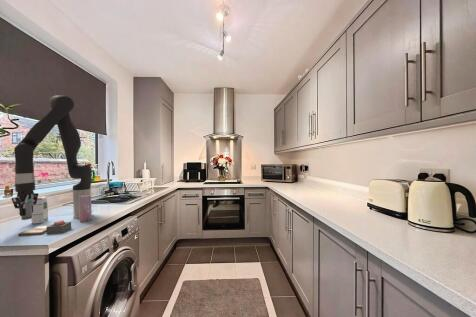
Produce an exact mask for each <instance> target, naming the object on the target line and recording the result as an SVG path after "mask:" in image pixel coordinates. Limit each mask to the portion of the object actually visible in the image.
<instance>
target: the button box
mask: <svg viewBox="0 0 476 317" xmlns="http://www.w3.org/2000/svg"><path fill="white" fill-rule="evenodd" d="M46 226H47V232H46V235H49V234H50V235H51V234H63V233H65V232H67V231H70V230H71V229H72V221H64V224H63V225H57V226H54V223H52V224H50V225H46Z"/></svg>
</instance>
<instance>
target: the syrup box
mask: <svg viewBox="0 0 476 317" xmlns="http://www.w3.org/2000/svg"><path fill="white" fill-rule="evenodd" d="M33 202H34V201H33ZM48 208H49V207H48V196H38V199H37V203H36V204H34V206H33V213H32V218H31V224H41V223H45V222H46V221H48V220H49V214H48V213H49V211H48Z"/></svg>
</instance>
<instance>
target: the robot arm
mask: <svg viewBox="0 0 476 317" xmlns="http://www.w3.org/2000/svg"><path fill="white" fill-rule="evenodd" d="M49 106H50V111H48V113H47V114H46V115H44V116H43V117H42V118H41V119H40V120H38V121H37V122H36V123H35V124H33V126H32V127H31V128H30V129H29V130H28V131H27V133H26V134H25V136H24V137H23V138H22V139H21V141H20V142H19V143H18V144H17V145H15V147H14V150H13V152H14V160H15V164H14V174H15V175H14V190H15V192H16V193H17V194H16V196H14V197H11V202H12V204H13V207H14V209H17V210H19V216H20V217H21V216H25V215H26V208H25V206H26V204H27V200H28V199H32V202H31V205H32V213H33V206H34V204H36V203H37V199H38V197H39V193H38V192H34V191H35V190H36V177H35V169H34V168H35V167H34V151H35V149H36V148H38V146H39V145H40V143H42V142H43V141H44V140H45V138H46V137H47V135H49V133H50V132H51V131H52V129H54V127H55V126H57V129H58V132H59V136H60V137H59V138H60V140H61V145H62V147H63V151H64V154H65V157H66V158H65V159H66V164H67V170H68V174H69V176H70V178H71V179H75V180H77V179H78V180H79V179H80V182H78V183H77V184H73V185H72V208H73V210H72V212H73V215H72V216H73V218H74V219H79V196H80V195H91V194H92V193H91V186H92V175H93V174H92V173H93V172H92V171H93V170H92V166H91V165H90V164H88V163H82V164H81V163H80V164H79V163H78V158H77V157H78V153H79V151H80V148H81V145H82V140H81V137H80V134H79V131H78V128H77V127H76V126H75V124H74V122H73V121H72V119H71V115H70V112H71V111H72V110H73V109H74V108H75V102H74V100H73V99H72V98H71V97H70V96H67V95H53V96H52V97H50V100H49ZM91 196H92V195H91ZM33 201H34V202H33ZM22 204H23V206H22Z"/></svg>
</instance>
